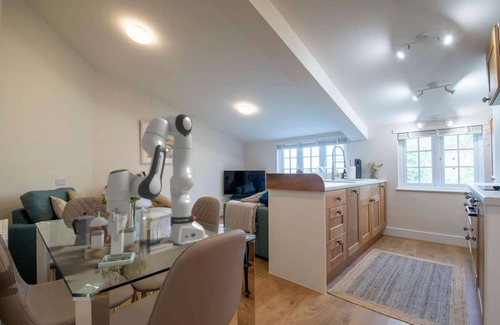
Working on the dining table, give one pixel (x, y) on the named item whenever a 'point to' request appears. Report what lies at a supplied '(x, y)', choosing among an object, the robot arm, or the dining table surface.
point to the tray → (116, 263)
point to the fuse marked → (117, 245)
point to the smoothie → (99, 226)
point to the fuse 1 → (97, 239)
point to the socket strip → (109, 250)
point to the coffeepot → (82, 229)
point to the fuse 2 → (129, 236)
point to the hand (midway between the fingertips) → (117, 239)
